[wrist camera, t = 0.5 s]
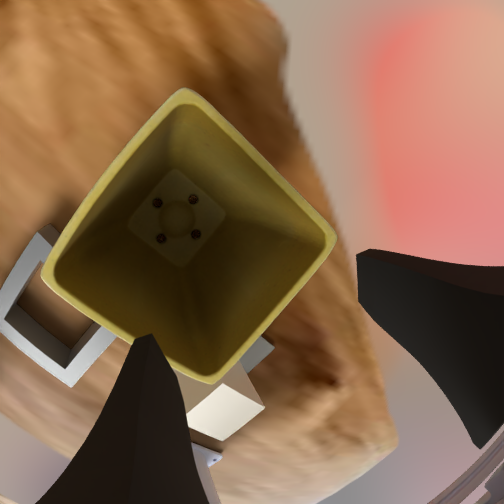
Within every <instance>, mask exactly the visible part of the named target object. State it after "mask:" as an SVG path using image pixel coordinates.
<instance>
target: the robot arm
mask: <svg viewBox="0 0 504 504" xmlns="http://www.w3.org/2000/svg"><path fill="white" fill-rule="evenodd" d="M356 261H357V279H358V302H359V303H360V304H361V305H362V307H363V308H364V309H365V310H366V312H367V313H368V314H369V315H370V316H371V318H372V319H373V320H374V321H375V322H376V323H377V324H378V325H379V326H380V327H382V328H383V329H384V330H385V331H386V332H387V333H388V334H389V335H390V336H391V337H393V338H394V339H395V340H396V341H397V342H398V343H399V344H400V345H401V346H402V347H404V348H405V349H406V350H407V351H408V352H409V353H410V354H411V355H412V356H413V357H414V358H415V359H416V360H417V361H418V362H419V363H420V364H421V365H422V366H423V367H424V368H425V370H426V371H427V372H428V373H429V374H430V376H431V377H432V378H433V379H434V380H435V382H436V383H437V384H438V386H439V387H440V389H441V390H442V391H443V392H444V394H445V395H446V397H447V398H448V399H449V401H450V403H451V404H452V406H453V407H454V409H455V410H456V412H457V413H458V415H459V417H460V418H461V420H462V422H463V424H464V426H465V428H466V429H467V431H468V433H469V435H470V437H471V439H472V442H473V443H474V444H475V445H476V446H477V447H478V448H479V449H481V448H482V447H483V446H484V445H485V444H486V443H487V442H488V441H489V440H490V439H491V438H492V437H493V435H494V434H495V433H496V432H497V431H498V430H499V429H500V427H501V426H502V425H503V424H504V266H475V265H463V264H455V263H449V262H442V261H436V260H431V259H425V258H420V257H415V256H410V255H405V254H400V253H395V252H389V251H384V250H377V249H368V250H366V251H363V252H361V253H359V254H357V255H356ZM222 457H223V456H222V454H221V453H218V452H215V451H213V450H210V449H207V448H205V447H202V446H199V445H197V444H194V443H192V442H191V439H190V433H189V428H188V422H187V416H186V410H185V404H184V400H183V396H182V393H181V389H180V386H179V382H178V378H177V376H176V374H175V372H174V371H173V369H172V367H171V366H170V364H169V362H168V360H167V359H166V357H165V355H164V354H163V352H162V350H161V348H160V347H159V345H158V343H157V341H156V339H155V338H154V336H153V334H152V333H151V334H148V335H145V336H142V337H139V338H136V339H134V341H133V344H132V346H131V348H130V350H129V353H128V355H127V357H126V359H125V362H124V364H123V366H122V369H121V371H120V373H119V376H118V378H117V380H116V382H115V385H114V387H113V389H112V391H111V393H110V395H109V397H108V399H107V401H106V403H105V405H104V408H103V410H102V412H101V414H100V416H99V418H98V419H97V421H96V423H95V425H94V427H93V428H92V430H91V432H90V433H89V435H88V437H87V438H86V440H85V442H84V443H83V445H82V446H81V448H80V449H79V451H78V452H77V453H76V455H75V456H74V458H73V459H72V461H71V462H70V464H69V465H68V466H67V468H66V469H65V471H64V472H63V473H62V474H61V476H60V477H59V478H58V479H57V481H56V482H55V483H54V484H53V485H52V486H51V488H50V489H49V490H48V491H47V492H46V493H45V495H43V496H42V498H41V499H40V500H39V501H38V502H36V503H35V504H221V502H220V499H219V496H218V494H217V491H216V488H215V485H214V482H213V480H212V477H211V474H210V471H209V468H208V467H210V466H211V465H213V464H214V463H216V462H217V461H219V460H220V459H222ZM503 458H504V431H503V433H502V434H501V435H500V436H499V437H498V438H497V439H496V441H495V442H494V443H493V444H492V445H491V446H490V447H489V449H487V451H486V452H485V453H484V454H483V455H482V456H481V457H480V458H479V459H478V460H477V461H476V462H475V463H474V464H473V465H472V466H471V467H470V468H469V469H468V470H467V471H466V472H465V473H464V474H463V475H461V476H460V477H459V478H458V479H457V480H456V481H455V482H453V483H452V484H451V485H450V486H449V487H448V488H446V489H445V490H444V491H443V492H442V493H440V494H439V495H438V496H437V497H436V498H435V499H433V500H432V501H430V502H429V503H428V504H459V503H461V502H462V501H463V500H464V499H465V498H466V497H467V496H468V495H469V494H470V493H471V492H472V491H473V490H475V489H476V487H478V486H479V485H480V484H481V483H482V481H483V480H484V479H485V478H486V477H487V476H488V475H489V474H490V473H491V472H492V471H493V470H494V469H495V468H496V466H498V464H499V463H500V462H501V461H502V460H503ZM485 488H486V489H487V490H488V491H487V492H486V494H484V495H483V496H482V497H481V498H480V499H479V500H478V501H477V502H476V503H475V504H504V463H503V464H502V465H501V466H500V467H499V468H498V469H497V470H496V471H495V472H494V474H493V475H492V476H491V477H490V479H489V480H488V481H487V483H486V484H485Z"/></svg>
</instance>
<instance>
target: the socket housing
mask: <svg viewBox="0 0 504 504" xmlns="http://www.w3.org/2000/svg"><path fill="white" fill-rule="evenodd" d="M60 235H61V234H60V233H59V232H58V231H57V230H56V229H55V228H54V227H53V226H52V225H51V224H48V225H47V226H45V227H43V228H42V229H40V230H39V231H37V232H36V234H35V235H34V237H33V238H32V240H31V241H30V243H29V244H28V246H27V247H26V249H25V250H24V252H23V253H22V255H21V256H20V258H19V259H18V261H17V263H16V264H15V266H14V268H13V269H12V271H11V273H10V274H9V276H8V278H7V279H6V281H5V283H4V285H3V286H2V288H1V290H0V332H1V333H2V334H3V335H4V336H5V337H6V338H8V339H9V340H10V341H11V342H12V343H13V344H14V345H16V346H17V347H18V348H19V349H20V350H21V351H23V352H24V353H25V354H26V355H28V356H29V357H30V358H31V359H33V360H34V361H35V362H36V363H38V364H39V365H40V366H42V367H43V368H44V369H46V370H47V371H48V372H50V373H51V374H52V375H54V376H55V377H57V378H58V379H59V380H61V381H62V382H64V383H65V384H67V385H68V386H70V387H71V388H72V387H73V385H74V384H75V383H76V382H77V381H78V380H79V378H80V377H81V376H82V375H83V374H84V373H85V372H86V371H87V369H88V368H89V367H90V366H91V365H92V364H93V363H94V361H95V360H96V359H97V358H98V357H99V356H100V355H101V354H102V353H103V351H104V350H105V349H106V348H107V347H108V346H109V345H110V344H111V343H112V342H113V340H114V339H115V338H116V337H117V336H116V335H115V334H113V333H112V332H110V331H109V330H107V329H106V328H104V327H103V326H101V325H100V324H98V323H97V322H95V321H94V323H93V324H92V325H91V326H90V327H89V329H88V330H87V331H86V332H85V333H84V335H83V336H82V337H81V338H80V339H79V341H78V342H77V343H76V344H75V346H74V347H73V348H72V349H69V348H68V347H67V346H65V345H64V344H63V343H62V342H60V341H59V340H58V339H57V338H55V337H54V336H53V335H52V334H50V333H49V332H48V331H47V330H46V329H44V328H43V327H42V326H41V325H40V324H38V323H37V322H36V321H35V320H34V319H33V318H32V317H30V316H29V315H28V314H27V313H26V312H25V311H24V310H23V309H22V308H21V307H20V306H18V305H17V304H16V303H17V301H18V299H19V298H20V296H21V294H22V293H23V291H24V290H25V288H26V286H27V285H28V283H29V282H30V280H31V279H32V277H33V276H34V274H35V273H36V271H37V270H38V268H39V267H40V265H41V264H42V263H45V261H46V259H47V257H48V255H49V253H50V251H51V250H52V248H53V246H54V245H55V243H56V242H57V240H58V238H59V237H60Z"/></svg>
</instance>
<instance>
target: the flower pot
mask: <svg viewBox="0 0 504 504" xmlns="http://www.w3.org/2000/svg"><path fill="white" fill-rule="evenodd" d="M191 195H195V196H197V202H196V203H194V204H191V203H190V202H189V197H190V196H191ZM157 198H158V199H160V200H161V201H162V205H161V206H160V207H155V206H154V205H153V201H154V200H155V199H157ZM194 230H198V231H199V232H200V236H199V237H198V238H193V237H192V235H191V234H192V232H193V231H194ZM159 234H163V235H164V236H165V241H164V242H162V243H160V242H158V241H157V236H158V235H159ZM337 238H338V237H337V234H336V232H335V230H334V229H333V228H332V227H331V225H330V224H329V223H328V222H327V221H326V220H325V219H324V218H323V217H322V216H321V215H320V214H319V213H318V212H317V211H316V210H315V209H314V208H313V207H312V206H311V205H310V204H309V203H308V202H307V201H306V200H305V198H304V197H303V196H302V195H301V194H300V193H299V192H298V191H297V190H296V189H295V188H294V187H293V186H292V185H291V184H290V183H289V182H288V181H287V180H286V179H285V178H284V177H283V176H282V175H281V174H280V173H279V172H278V171H277V170H276V169H275V168H274V167H273V166H272V165H271V164H270V163H269V162H268V161H267V160H266V159H265V158H264V157H263V156H262V155H261V154H260V153H259V152H258V151H257V150H256V149H255V148H254V147H253V146H252V145H251V144H250V143H249V142H248V141H247V140H246V139H245V137H244V136H243V135H242V134H241V133H240V132H239V131H238V130H236V129H235V127H234V126H232V125H231V124H230V123H229V122H228V121H227V120H226V119H225V118H224V117H223V116H222V115H221V114H220V113H219V112H218V111H217V110H216V109H215V108H214V107H213V106H212V105H211V104H210V103H209V102H208V101H207V100H205V99H204V98H203V97H202V96H200V95H199V94H198V93H196V92H195V91H193V90H191V89H189V88H185V87H183V88H181V89H179V90H177V91H176V92H175V93H174V94H173V95H172V96H170V97H169V98H168V99H167V100H166V101H165V102H164V103H163V105H162V106H161V107H160V108H159V109H158V110H157V111H156V112H155V113H154V114H153V115H152V116H151V118H150V119H149V120H148V121H147V122H146V123H145V124H144V125H143V126H142V127H141V128H140V130H139V131H138V132H137V133H136V134H135V135H134V137H133V138H132V139H131V140H130V141H129V142H128V144H127V145H126V146H125V147H124V148H123V150H122V151H121V152H120V153H119V155H118V156H117V157H116V158H115V159H114V161H113V162H112V163H111V164H110V166H109V167H108V168H107V170H106V171H105V172H104V173H103V175H102V176H101V177H100V179H99V180H98V181H97V182H96V184H95V185H94V186H93V188H92V189H91V191H90V192H89V193H88V195H87V196H86V197H85V199H84V200H83V202H82V203H81V205H80V206H79V208H78V209H77V211H76V212H75V214H74V215H73V217H72V218H71V220H70V221H69V223H68V224H67V226H66V227H65V228H64V230H63V232H62V233H61V235H60V237H59V238H58V240H57V242H56V243H55V245H54V246H53V248H52V250H51V251H50V253H49V255H48V257H47V259H46V261H45V263H44V264H43V266H42V269H41V273H40V275H41V278H42V280H43V281H44V282H45V283H46V284H47V286H48V287H49V288H51V289H52V290H53V291H54V292H55V293H56V294H58V295H59V296H60V297H62V298H63V299H64V300H65V301H67V302H68V303H69V304H71V305H72V306H73V307H75V308H76V309H77V310H79V311H80V312H82V313H83V314H85V315H86V316H87V317H89V318H90V319H92V320H94V321H95V322H97V323H98V324H100V325H101V326H103V327H104V328H106V329H107V330H109V331H110V332H112V333H113V334H115V335H116V336H118V337H119V338H121V339H123V340H124V341H126V342H128V343H129V344H131V345H132V344H133V341H134V339H136V338H139V337H142V336H145V335H148V334H151V333H152V334H153V336H154V338H155V339H156V341H157V343H158V345H159V347H160V348H161V350H162V352H163V354H164V355H165V357H166V359H167V360H168V362H169V364H170V366H171V367H172V368H173V369H175V370H177V371H179V372H180V373H182V374H184V375H186V376H188V377H190V378H193V379H195V380H198V381H200V382H203V383H207V384H210V385H213V384H215V383H216V382H217V381H219V380H220V379H221V378H222V377H223V376H224V375H225V374H226V373H227V372H228V371H229V370H230V369H231V368H232V367H233V366H234V365H235V364H236V363H237V362H238V360H239V359H240V358H241V357H242V356H243V355H244V353H245V352H246V351H247V350H248V349H249V348H250V347H251V346H252V344H253V343H254V342H255V341H256V340H257V339H258V338H259V337H260V335H261V334H262V333H263V332H264V331H265V330H266V329H267V327H268V326H269V325H270V324H271V323H272V321H273V320H274V319H275V318H276V317H277V316H278V315H279V314H280V312H281V311H282V310H283V309H284V308H285V307H286V306H287V304H288V303H289V302H290V301H291V300H292V299H293V297H294V296H295V295H296V294H297V293H298V292H299V291H300V289H301V288H302V287H303V286H304V285H305V284H306V283H307V281H308V280H309V279H310V278H311V276H312V275H313V274H314V273H315V272H316V271H317V269H318V268H319V267H320V265H321V264H322V263H323V262H324V261H325V260H326V258H327V257H328V255H329V254H330V252H331V250H332V249H333V247H334V245H335V243H336V241H337Z"/></svg>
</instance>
